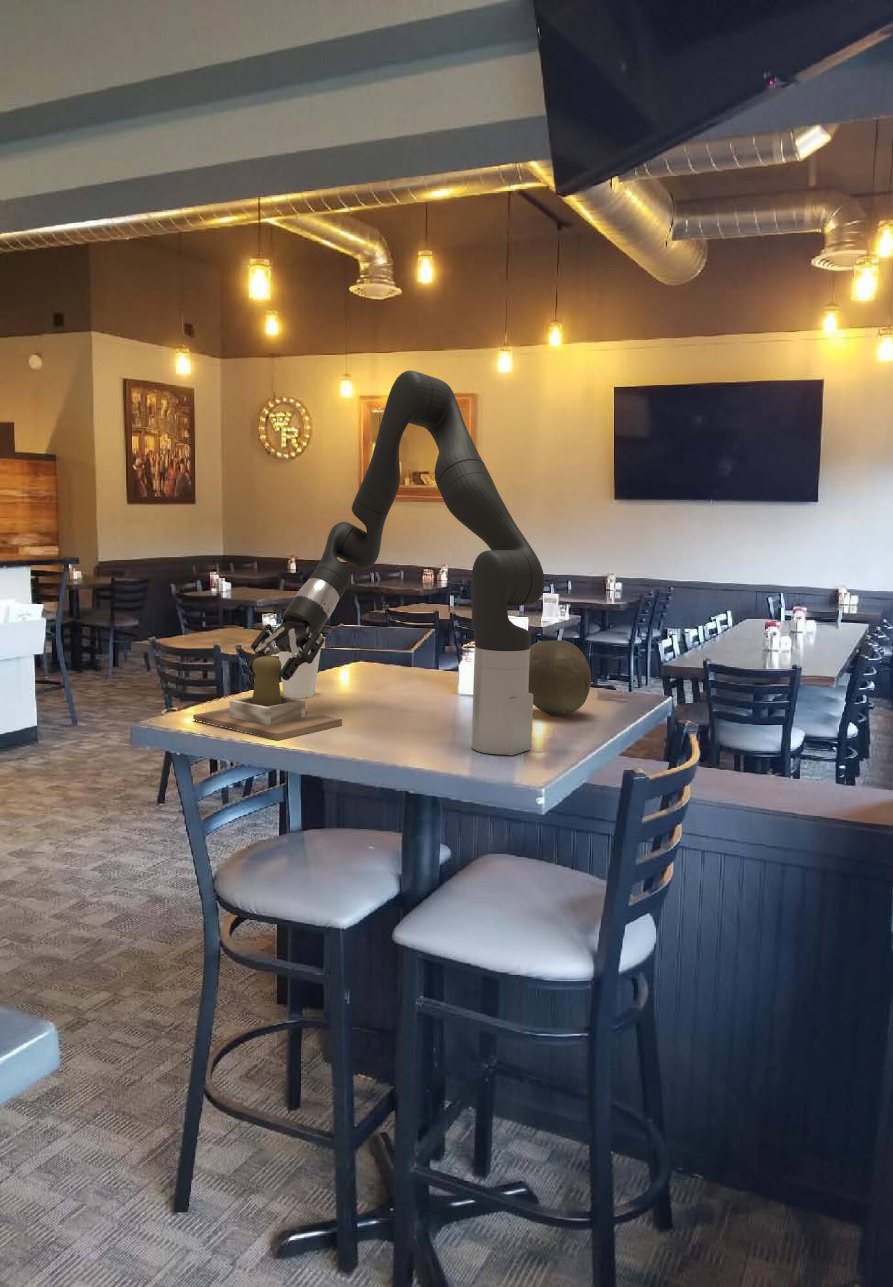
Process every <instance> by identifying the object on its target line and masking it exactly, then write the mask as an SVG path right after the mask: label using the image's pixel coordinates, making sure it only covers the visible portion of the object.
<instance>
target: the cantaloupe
mask: <svg viewBox="0 0 893 1287" xmlns="http://www.w3.org/2000/svg"><path fill="white" fill-rule="evenodd" d="M591 685H592V671H591V670H590V665H589V663H588V661H587V659H586V656H585V655H584V653H583V651H582V650H581V649H579V647H578V646H576V645H575V644H574V643H572V642H570V641H567V640H565V639H561V640H560V639H559V640H541V641H537V642H535V643H534V644H531V645H530V667H529V692H528V693H532V694H533V707H536V708H537V709H538V710H540V711H541V712H543V713H546V714H548V715H552V716H559V717H563V716H568V715H569V714H572V713H574V712H576V711H578V710H579V709H580V708H582V706H583V705H584V704H585V703H586V701H587V699H588V697H589V695H590V694H589V693H590V690H591Z"/></svg>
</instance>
